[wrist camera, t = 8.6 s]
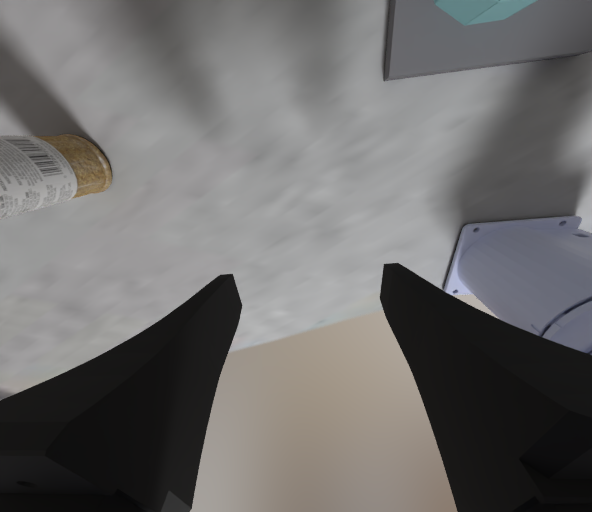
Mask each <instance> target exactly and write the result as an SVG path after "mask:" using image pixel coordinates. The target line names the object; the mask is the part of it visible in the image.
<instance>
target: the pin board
mask: <svg viewBox="0 0 592 512" xmlns="http://www.w3.org/2000/svg"><path fill="white" fill-rule="evenodd" d="M591 51H592V0H537V1H536V2H534V3H532V4H530V5H529V6H527V7H525V8H524V9H522V10H520V11H518V12H517V13H515V14H513V15H511V16H510V17H508V18H506V19H504V20H497V21H491V22H485V23H478V24H472V25H465V26H464V25H463V24H461V23H460V22H459V21H457V20H456V19H454V18H453V17H452V16H450V15H449V14H448V13H446V12H445V11H443V10H442V9H441V8H439V7H438V6H436V5H435V3H434V0H390V11H389V24H388V36H387V48H386V61H385V73H384V81H388V80H395V79H403V78H410V77H418V76H425V75H433V74H440V73H448V72H455V71H463V70H470V69H478V68H486V67H493V66H501V65H508V64H516V63H523V62H531V61H538V60H546V59H553V58H561V57H568V56H576V55H580V54H584V53H587V52H591Z"/></svg>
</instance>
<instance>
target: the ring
mask: <svg viewBox="0 0 592 512" xmlns="http://www.w3.org/2000/svg"><path fill="white" fill-rule="evenodd" d="M536 1H537V0H434V3H435V5H436V6H438V7H439V8H441V9H442V10H443V11H445V12H446V13H448V14H449V15H450V16H452V17H453V18H454V19H456V20H457V21H459V22H460V23H461V24H463V25H464V26H465V25H472V24H478V23H485V22H491V21H497V20H504V19H506V18H508V17H510V16H511V15H513V14H515V13H517V12H518V11H520V10H522V9H524V8H525V7H527V6H529V5H530V4H532V3H534V2H536Z"/></svg>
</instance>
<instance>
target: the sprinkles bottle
mask: <svg viewBox="0 0 592 512" xmlns="http://www.w3.org/2000/svg"><path fill="white" fill-rule="evenodd" d="M111 173H112V172H111V169H110V165H109V163H108V161H107V159H106V158H105V157H104V155H103V154H102V153H101V152H100V150H99V149H98V148H97V147H96V146H94V145H93V144H92V143H91V142H89V141H88V140H86V139H84V138H82V137H79V136H76V135H71V134H62V135H59V136H0V220H1V219H4V218H8V217H11V216H15V215H18V214H22V213H25V212H29V211H33V210H36V209H40V208H44V207H47V206H51V205H55V204H58V203H62V202H65V201H68V200H70V199H72V198H76V197H80V196H83V195H87V194H90V193H99V192H102V191H105V190H106V189H107V188H108V187H109V186H110V184H111V181H112V175H111Z"/></svg>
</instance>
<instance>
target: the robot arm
mask: <svg viewBox="0 0 592 512" xmlns="http://www.w3.org/2000/svg"><path fill="white" fill-rule="evenodd" d="M581 221H582V218H581V217H578V216H563V217H550V218H538V219H525V220H512V221H499V222H487V223H474V224H467V225H465V226H464V227H463V229H462V232H461V235H460V238H459V241H458V245H457V248H456V251H455V254H454V258H453V261H452V264H451V267H450V271H449V274H448V277H447V280H446V284H445V287H444V291H443V290H441V289H439V288H438V287H436V286H434V285H433V284H431V283H430V282H428V281H426V280H425V279H423V278H421V277H420V276H418V275H417V274H415V273H414V272H412V271H410V270H409V269H407V268H405V267H404V266H402V265H400V264H398V263H392V264H384V268H383V277H382V285H381V293H380V300H381V303H382V307H383V310H384V313H385V316H386V318H387V320H388V323H389V325H390V327H391V329H392V331H393V333H394V335H395V337H396V339H397V341H398V343H399V345H400V348H401V349H402V352H403V354H404V356H405V358H406V360H407V362H408V364H409V366H410V369H411V371H412V373H413V376H414V379H415V381H416V384H417V387H418V390H419V392H420V395H421V398H422V400H423V403H424V406H425V409H426V412H427V415H428V418H429V421H430V423H431V427H432V430H433V433H434V436H435V439H436V442H437V445H438V448H439V451H440V454H441V457H442V460H443V464H444V467H445V470H446V474H447V477H448V480H449V484H450V487H451V490H452V494H453V497H454V500H455V504H456V507H457V511H458V512H592V233H589V232H586V231H583V230H581V229H578V227H579V225H580V223H581ZM560 222H561V223H560ZM475 228H476V230H474V229H475ZM473 230H474V231H473ZM462 294H474V295H475V296H476V297H477V298H478V299H479V300H480V301H481V302H482V303H483V304H484V305H485V306H486V307H488V309H490V310H491V311H492V312H493V313H494V314H495V315H496V316H497V317H498V318H499V319H497V318H495V317H493V316H491V315H489V314H487V313H485V312H483V311H480V310H478V309H476V308H474V307H472V306H470V305H468V304H466V303H465V302H463V301H461V300H459V299H457V298H455V297H453V296H452V295H462ZM241 309H242V303H241V300H240V297H239V293H238V290H237V287H236V283H235V280H234V277H233V274H225V275H220V276H218V277H217V278H215V279H214V280H213V281H211V282H210V283H209V284H208V285H206V286H205V287H204V288H203V289H201V290H200V291H199V292H197V293H196V294H195V295H194V296H192V297H191V298H190V299H189V300H187V301H186V302H185V303H183V304H182V305H181V306H179V307H178V308H176V309H175V310H174V311H172V312H171V313H170V314H168V315H167V316H165V317H164V318H163V319H161V320H160V321H158V322H157V323H155V324H154V325H152V326H150V327H149V328H147V329H146V330H144V331H142V332H141V333H139V334H137V335H136V336H134V337H132V338H130V339H129V340H127V341H125V342H123V343H122V344H120V345H118V346H116V347H114V348H113V349H111V350H109V351H107V352H105V353H103V354H102V355H100V356H98V357H96V358H94V359H92V360H90V361H88V362H86V363H84V364H82V365H79V366H77V367H75V368H73V369H71V370H69V371H67V372H65V373H63V374H60V375H58V376H56V377H54V378H52V379H49V380H47V381H45V382H42V383H40V384H38V385H35V386H33V387H31V388H29V389H26V390H24V391H22V392H19V393H17V394H15V395H12V396H10V397H7V398H5V399H3V400H1V401H0V512H190V510H191V509H192V503H193V497H194V491H195V486H196V480H197V475H198V469H199V464H200V459H201V453H202V449H203V444H204V439H205V435H206V430H207V425H208V421H209V417H210V412H211V408H212V404H213V400H214V396H215V392H216V388H217V384H218V380H219V377H220V374H221V371H222V368H223V365H224V362H225V359H226V357H227V354H228V351H229V349H230V346H231V343H232V340H233V338H234V335H235V332H236V329H237V326H238V323H239V319H240V314H241Z"/></svg>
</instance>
